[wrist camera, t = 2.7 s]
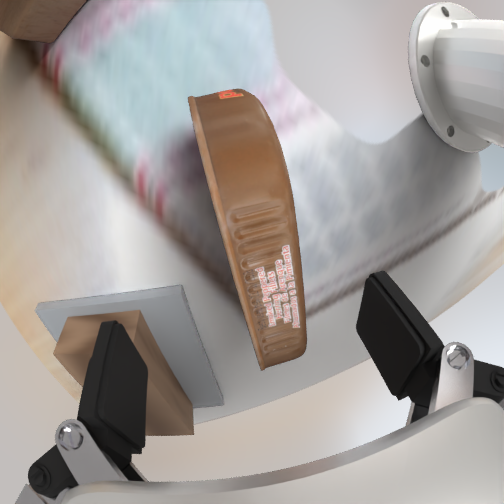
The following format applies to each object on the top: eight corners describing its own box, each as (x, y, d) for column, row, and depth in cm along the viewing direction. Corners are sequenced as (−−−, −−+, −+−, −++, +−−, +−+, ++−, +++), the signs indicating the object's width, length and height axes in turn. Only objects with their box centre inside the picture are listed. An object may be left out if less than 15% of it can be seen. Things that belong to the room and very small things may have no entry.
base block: (140, 309, 19) (131, 352, 16) (192, 404, 28) (193, 434, 25) (67, 316, 19) (53, 353, 15) (137, 406, 28) (135, 435, 24)
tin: (188, 97, 13) (163, 102, 6) (245, 85, 13) (282, 77, 6) (241, 301, 21) (258, 397, 14) (281, 292, 22) (311, 385, 15)
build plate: (181, 284, 20) (181, 293, 19) (223, 398, 30) (223, 405, 29) (38, 302, 19) (34, 310, 18) (118, 403, 29) (117, 409, 28)
